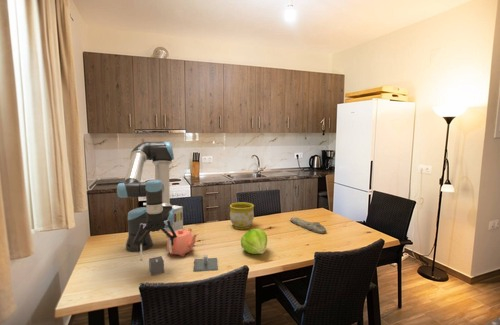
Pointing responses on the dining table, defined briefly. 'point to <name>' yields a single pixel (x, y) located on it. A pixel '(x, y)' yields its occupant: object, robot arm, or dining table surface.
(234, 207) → the flowerpot
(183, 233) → the teapot
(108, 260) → the dining table surface
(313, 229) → the elongated rock
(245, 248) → the lettuce
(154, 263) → the gray cube
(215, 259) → the shaft post
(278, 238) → the dining table surface
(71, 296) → the dining table surface
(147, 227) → the robot arm
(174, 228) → the supplement box
